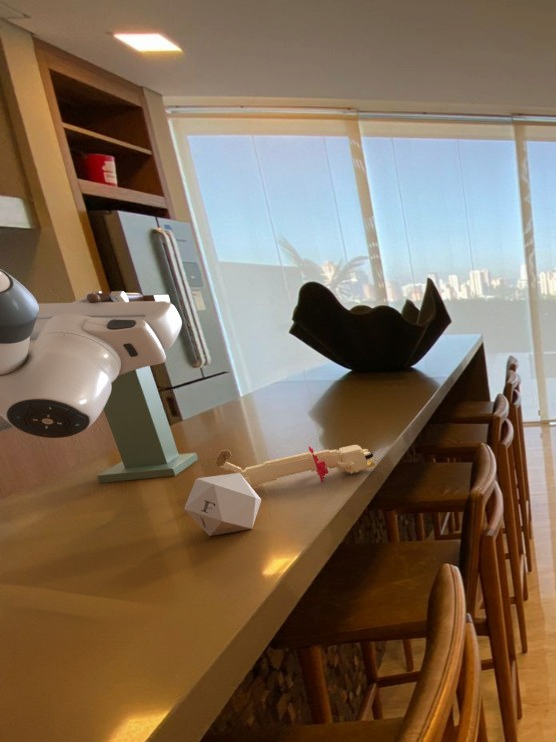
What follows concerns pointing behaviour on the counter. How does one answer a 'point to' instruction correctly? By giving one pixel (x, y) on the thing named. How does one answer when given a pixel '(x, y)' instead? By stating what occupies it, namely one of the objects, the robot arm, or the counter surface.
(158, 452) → the spoon stand
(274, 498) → the counter surface
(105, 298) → the spoon
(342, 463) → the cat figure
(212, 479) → the die
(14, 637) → the counter surface
